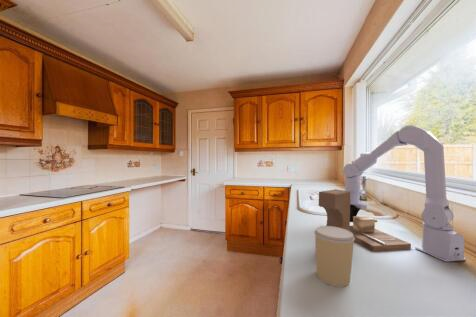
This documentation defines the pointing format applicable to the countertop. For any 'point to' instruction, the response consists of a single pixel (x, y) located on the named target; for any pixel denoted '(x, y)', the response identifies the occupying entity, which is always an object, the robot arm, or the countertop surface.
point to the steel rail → (368, 236)
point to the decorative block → (336, 207)
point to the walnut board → (390, 241)
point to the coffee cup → (334, 255)
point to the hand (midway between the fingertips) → (351, 221)
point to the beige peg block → (364, 223)
